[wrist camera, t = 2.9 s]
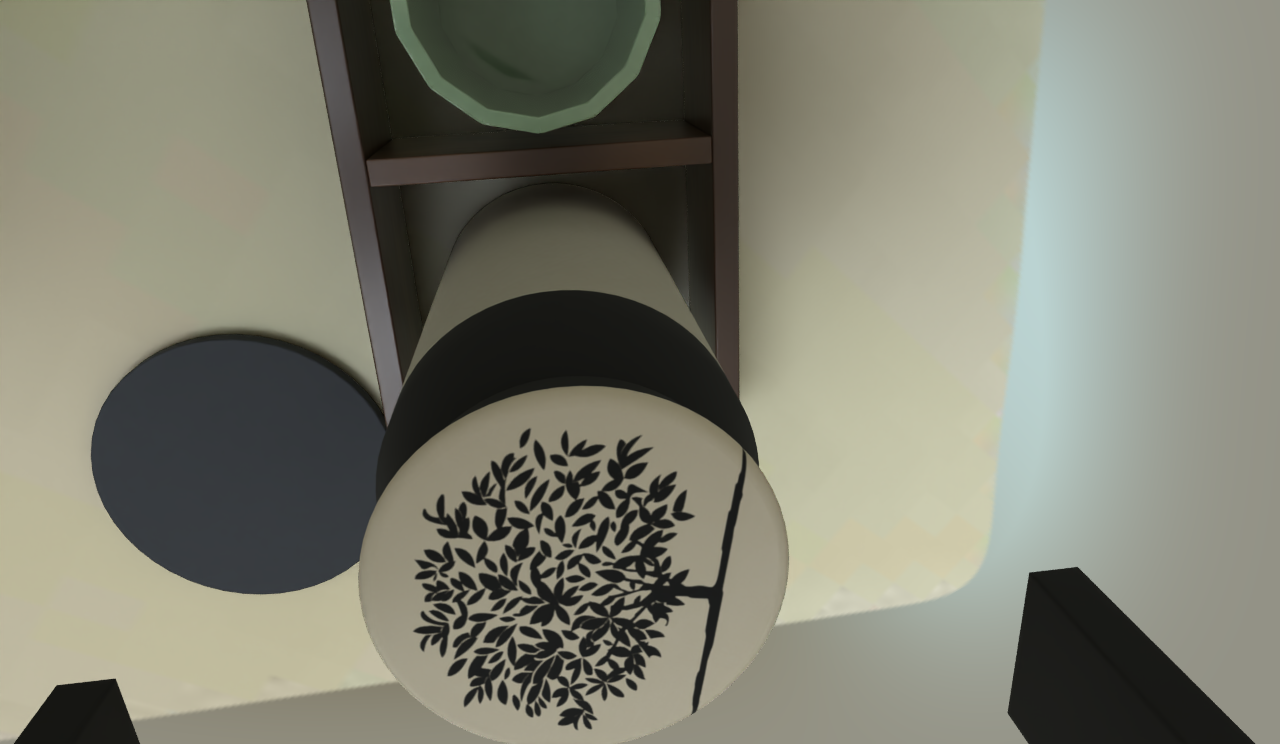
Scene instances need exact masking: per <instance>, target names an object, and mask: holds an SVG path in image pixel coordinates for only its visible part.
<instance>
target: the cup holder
mask: <svg viewBox="0 0 1280 744" xmlns="http://www.w3.org/2000/svg"><path fill="white" fill-rule="evenodd" d="M306 2H307V7H308V12H309V18H310V23H311V28H312V34H313V39H314V44H315V49H316V55H317V60H318V65H319V71H320V76H321V81H322V87H323V92H324V97H325V103H326V108H327V113H328V119H329V124H330V129H331V135H332V140H333V145H334V151H335V156H336V161H337V166H338V172H339V177H340V182H341V188H342V193H343V198H344V204H345V209H346V214H347V220H348V225H349V230H350V236H351V241H352V246H353V252H354V257H355V262H356V268H357V273H358V278H359V283H360V289H361V294H362V299H363V305H364V310H365V315H366V321H367V326H368V331H369V337H370V342H371V347H372V353H373V358H374V363H375V369H376V374H377V379H378V385H379V390H380V395H381V400H382V406H383V411H384V416H385V422H386V427H388V424H389V421H390V419H391V416H392V413H393V411H394V408H395V405H396V402H397V400H398V397H399V394H400V391H401V389H402V386H403V383H404V380H405V378H406V375H407V372H408V369H409V367H410V364H411V361H412V358H413V356H414V353H415V350H416V347H417V345H418V342H419V339H420V337H421V334H422V331H423V328H422V322H421V316H420V309H419V303H418V297H417V291H416V285H415V278H414V272H413V266H412V260H411V254H410V247H409V241H408V235H407V229H406V223H405V216H404V210H403V204H402V198H401V192H400V185H415V184H429V183H443V182H457V181H471V180H485V179H499V178H513V177H528V176H542V175H556V174H570V173H584V172H598V171H612V170H626V169H641V168H655V167H669V166H683V165H686V197H687V231H688V266H689V300H690V312H691V313H692V315H693V317H694V319H695V321H696V323H697V324H698V326H699V328H700V330H701V332H702V333H703V335H704V337H705V339H706V341H707V342H708V344H709V346H710V348H711V350H712V351H713V353H714V355H715V357H716V359H717V361H718V362H719V364H720V366H721V368H722V370H723V371H724V373H725V375H726V377H727V379H728V380H729V382H730V384H731V386H732V388H733V390H734V391H735V393H736V395H737V397H738V399H739V196H738V0H681V24H682V59H683V93H684V120H683V119H679V120H664V121H649V122H634V123H618V124H603V125H588V126H573V127H561V128H558V129H555V130H552V131H548V132H545V133H539V134H537V133H531V132H525V131H519V130H512V131H497V132H482V133H466V134H451V135H436V136H421V137H406V138H394V139H392V136H391V129H390V123H389V117H388V111H387V105H386V98H385V92H384V86H383V80H382V74H381V67H380V61H379V55H378V49H377V43H376V36H375V30H374V24H373V18H372V11H371V5H370V0H306Z"/></svg>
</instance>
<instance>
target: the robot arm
mask: <svg viewBox="0 0 1280 744" xmlns="http://www.w3.org/2000/svg"><path fill="white" fill-rule="evenodd" d="M1008 714H1009V716H1010V717H1011V719H1012V720H1013V721H1014V723H1015V724H1016V726H1017V728H1018V729H1019V730H1020V732H1021V733H1022V735H1023V736H1024V738H1025V739H1026V741H1027V742H1028V743H1029V744H1255V743H1254V742H1253V741H1252V740H1251V739H1250V738H1249V737H1248V736H1247V735H1246V734H1245V733H1244V732H1243V731H1242V730H1241V729H1240V728H1239V727H1238V726H1237V725H1236V724H1235V723H1234V722H1233V721H1232V720H1231V719H1230V718H1229V717H1228V716H1227V715H1226V714H1225V713H1224V712H1223V711H1222V710H1221V709H1220V708H1219V707H1218V706H1217V705H1216V704H1215V703H1214V702H1213V701H1212V700H1211V699H1210V698H1209V697H1207V695H1206V694H1205V693H1204V692H1203V691H1202V690H1201V689H1200V688H1199V687H1198V686H1196V684H1195V683H1194V682H1193V681H1192V680H1190V678H1189V677H1188V676H1187V675H1186V674H1185V673H1183V671H1182V670H1181V669H1180V668H1179V667H1178V666H1177V665H1175V663H1174V662H1173V661H1172V660H1170V658H1169V657H1168V656H1167V655H1166V654H1164V653H1163V651H1161V649H1160V648H1159V647H1157V645H1155V644H1154V643H1153V642H1152V641H1151V640H1150V639H1149V638H1148V637H1147V636H1146V635H1145V634H1144V633H1143V632H1142V631H1141V630H1140V629H1139V628H1138V627H1137V626H1136V625H1135V624H1134V623H1133V622H1132V621H1131V620H1130V619H1129V618H1128V617H1127V616H1126V615H1125V614H1124V613H1123V612H1122V611H1121V610H1120V609H1119V608H1118V607H1117V606H1116V605H1115V604H1114V603H1113V602H1112V601H1111V600H1110V599H1109V598H1108V597H1107V596H1106V595H1105V594H1104V593H1103V592H1102V591H1101V590H1100V589H1099V588H1098V587H1097V586H1096V585H1095V584H1094V583H1093V582H1092V581H1091V580H1090V579H1089V578H1088V577H1087V576H1086V575H1085V574H1084V573H1083V572H1082V571H1081V570H1080V569H1079V568H1078V567H1074V568H1065V569H1057V570H1048V571H1040V572H1031V573H1029V579H1028V584H1027V591H1026V597H1025V604H1024V610H1023V617H1022V623H1021V630H1020V636H1019V643H1018V649H1017V656H1016V662H1015V668H1014V675H1013V681H1012V688H1011V695H1010V701H1009V708H1008ZM14 744H140V743H139V740H138V737H137V735H136V732H135V729H134V727H133V724H132V721H131V719H130V716H129V713H128V711H127V708H126V705H125V703H124V700H123V697H122V695H121V692H120V689H119V687H118V684H117V681H116V679H108V680H99V681H91V682H82V683H73V684H65V685H57V686H56V687H55V688H54V690H53V691H52V692H51V694H50V695H49V697H48V698H47V699H46V701H45V702H44V703H43V705H42V706H41V707H40V709H39V710H38V712H37V713H36V714H35V716H34V717H33V718H32V720H31V721H30V722H29V724H28V725H27V726H26V728H25V729H24V731H23V732H22V733H21V735H20V736H19V737H18V739H17V740H16V741H15V743H14Z"/></svg>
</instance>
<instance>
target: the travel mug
mask: <svg viewBox="0 0 1280 744" xmlns="http://www.w3.org/2000/svg"><path fill="white" fill-rule="evenodd" d="M376 501H377V504H376V507H375V509H374V511H373V513H372V515H371V518H370V520H369V523H368V526H367V529H366V532H365V535H364V538H363V543H362V548H361V554H360V560H359V575H358V580H359V596H360V602H361V608H362V613H363V617H364V620H365V623H366V627H367V630H368V633H369V635H370V637H371V639H372V642H373V644H374V646H375V648H376V650H377V652H378V653H379V655H380V657H381V659H382V660H383V662H384V664H385V665H386V666H387V668H388V669H389V670H390V672H391V673H392V674H393V676H394V677H395V678H396V679H397V681H398V682H399V683H400V684H401V685H402V686H403V687H404V688H405V689H406V690H407V691H408V692H409V693H410V694H411V695H412V696H413V697H414V698H416V699H417V700H418V701H419V702H420V703H421V704H423V705H424V706H426V707H427V708H428V709H430V710H431V711H433V712H434V713H435V714H437V715H438V716H440V717H442V718H443V719H445V720H447V721H449V722H450V723H452V724H454V725H456V726H458V727H460V728H462V729H465V730H467V731H469V732H472V733H474V734H477V735H480V736H482V737H485V738H488V739H491V740H495V741H499V742H502V743H506V744H618V743H622V742H626V741H630V740H634V739H637V738H640V737H643V736H646V735H649V734H652V733H655V732H657V731H659V730H662V729H664V728H667V727H669V726H671V725H673V724H675V723H677V722H679V721H681V720H683V719H685V718H687V717H688V716H690V715H692V714H693V713H695V712H696V711H698V710H700V709H701V708H703V707H704V706H706V705H707V704H708V703H710V702H711V701H712V700H714V699H715V698H716V697H718V696H719V695H720V694H721V693H722V692H724V691H725V690H726V689H727V688H728V687H729V686H730V685H732V684H733V682H734V681H735V680H736V679H737V678H738V677H739V676H740V675H741V674H742V673H743V672H744V671H745V670H746V668H747V667H748V666H749V665H750V663H751V662H752V661H753V660H754V659H755V657H756V656H757V654H758V653H759V651H760V650H761V648H762V647H763V645H764V644H765V642H766V640H767V638H768V636H769V634H770V633H771V631H772V629H773V627H774V624H775V622H776V620H777V617H778V615H779V612H780V609H781V606H782V602H783V599H784V595H785V591H786V585H787V579H788V568H789V549H788V538H787V532H786V526H785V522H784V519H783V515H782V512H781V509H780V506H779V503H778V501H777V499H776V496H775V494H774V492H773V489H772V488H771V486H770V484H769V482H768V481H767V479H766V477H765V475H764V474H763V472H762V471H761V470H760V468H759V461H758V452H757V446H756V442H755V438H754V433H753V430H752V427H751V425H750V422H749V419H748V416H747V414H746V412H745V410H744V408H743V406H742V404H741V402H740V400H739V399H738V397H737V395H736V393H735V391H734V390H733V388H732V386H731V384H730V382H729V380H728V379H727V377H726V375H725V373H724V371H723V370H722V368H721V366H720V364H719V362H718V361H717V359H716V357H715V355H714V353H713V351H712V350H711V348H710V346H709V344H708V342H707V341H706V339H705V337H704V335H703V333H702V332H701V330H700V328H699V326H698V324H697V323H696V321H695V319H694V317H693V315H692V313H691V312H690V310H689V308H688V306H687V304H686V303H685V301H684V299H683V297H682V295H681V294H680V292H679V290H678V288H677V286H676V284H675V283H674V281H673V279H672V277H671V275H670V274H669V272H668V270H667V268H666V266H665V265H664V263H663V261H662V259H661V257H660V255H659V254H658V252H657V250H656V248H655V246H654V245H653V243H652V241H651V239H650V238H649V236H648V234H647V233H646V231H645V230H644V228H643V227H642V226H641V225H640V223H639V222H638V221H637V220H636V219H635V218H634V217H633V216H632V215H631V214H630V213H629V212H628V211H627V210H626V209H625V208H623V207H622V206H621V205H619V204H618V203H616V202H615V201H614V200H612V199H610V198H608V197H606V196H605V195H603V194H600V193H598V192H596V191H593V190H590V189H587V188H584V187H580V186H575V185H569V184H551V183H549V184H538V185H533V186H527V187H524V188H520V189H517V190H514V191H512V192H509V193H507V194H505V195H503V196H501V197H499V198H497V199H496V200H494V201H493V202H491V203H490V204H488V205H487V206H485V207H484V208H483V209H482V210H481V211H479V212H478V213H477V214H476V215H475V216H474V217H473V218H472V219H471V220H470V222H469V223H468V224H467V225H466V227H465V228H464V229H463V231H462V232H461V234H460V235H459V237H458V239H457V241H456V243H455V245H454V247H453V249H452V252H451V254H450V257H449V260H448V263H447V265H446V268H445V271H444V273H443V276H442V279H441V282H440V284H439V287H438V290H437V293H436V295H435V298H434V301H433V304H432V306H431V309H430V312H429V315H428V317H427V320H426V323H425V326H424V328H423V331H422V334H421V337H420V339H419V342H418V345H417V347H416V350H415V353H414V356H413V358H412V361H411V364H410V367H409V369H408V372H407V375H406V378H405V380H404V383H403V386H402V389H401V391H400V394H399V397H398V400H397V402H396V405H395V408H394V411H393V413H392V416H391V419H390V421H389V424H388V427H387V430H386V432H385V435H384V438H383V441H382V444H381V448H380V452H379V456H378V462H377V470H376Z"/></svg>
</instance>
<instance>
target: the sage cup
mask: <svg viewBox="0 0 1280 744" xmlns="http://www.w3.org/2000/svg"><path fill="white" fill-rule="evenodd" d="M390 5H391V11H392V18H393V25H394V30H395V32H396V35H397V37H398V38H399V40H400V42H401V43H402V45H403V46H404V48H405V50H406V51H407V53H408V54H409V56H410V58H411V59H412V61H413V63H414V64H415V66H416V67H417V69H418V71H419V72H420V74H421V75H422V77H423V79H424V80H425V82H426V83H427V85H428V87H429V88H431V90H432V91H434V92H435V93H437V94H438V95H440V96H441V97H443V98H444V99H445V100H447V101H448V102H450V103H451V104H453V105H454V106H456V107H457V108H459V109H460V110H461V111H463V112H464V113H466V114H467V115H469V116H470V117H472V118H473V119H475V120H476V121H477V122H479V123H481V124H483V125H488V126H494V127H500V128H506V129H513V130H519V131H525V132H531V133H537V134H539V133H545V132H548V131H552V130H555V129H558V128H561V127H565V126H568V125H571V124H574V123H578V122H581V121H584V120H587V119H590V118H593V117H595V116H597V115H598V114H599V113H600V112H601V111H602V110H603V109H604V108H605V107H606V106H607V105H608V104H609V103H610V102H612V101H613V100H614V99H615V98H616V97H617V96H618V95H619V94H620V93H621V92H622V91H623V90H624V89H625V88H626V87H627V86H628V85H629V84H630V83H632V82H633V81H634V80H635V79H636V78H637V75H639V73H640V70H641V68H642V65H643V63H644V60H645V57H646V55H647V52H648V50H649V47H650V45H651V42H652V40H653V37H654V35H655V32H656V29H657V27H658V24H659V22H660V17H661V2H660V0H390Z"/></svg>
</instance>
